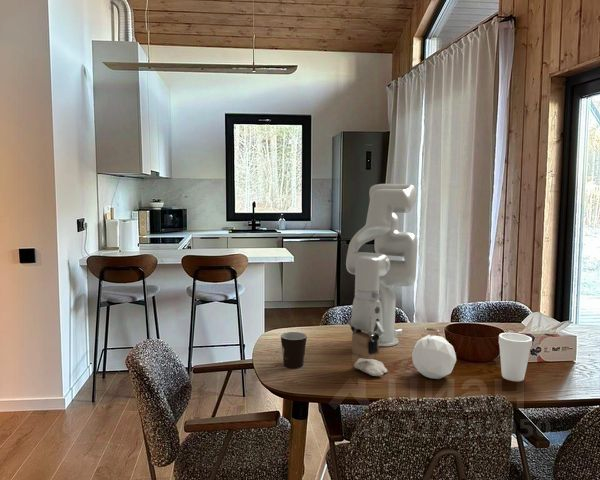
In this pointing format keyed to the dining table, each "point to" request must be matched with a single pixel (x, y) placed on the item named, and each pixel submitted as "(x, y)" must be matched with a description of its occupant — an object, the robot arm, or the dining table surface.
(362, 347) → the walnut block
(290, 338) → the coffee mug
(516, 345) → the foam cup
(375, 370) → the decorative stone
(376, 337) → the robot arm
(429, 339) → the geodesic sphere
